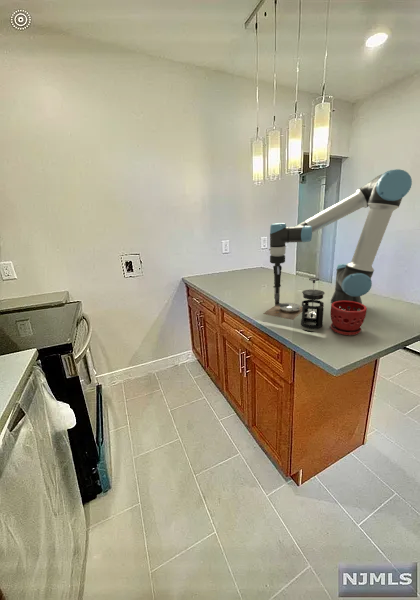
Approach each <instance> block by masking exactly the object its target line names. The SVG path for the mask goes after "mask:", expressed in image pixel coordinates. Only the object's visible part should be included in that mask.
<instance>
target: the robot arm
mask: <svg viewBox="0 0 420 600" xmlns="http://www.w3.org/2000/svg"><path fill="white" fill-rule="evenodd" d="M412 185H413V181H412V177H411V175H410V174H409V172H407V171H406V170H404V169H400V168H397V169H390V170H386V171H385V172H384V173H381V174H380V175H377V176H375V177H374V178H373V179H372V180H370V181H369V182H368V183H366V184H364V185H363V186H362V187H360V188H358V189H357V190H356V191H355V193H353V194H351V195H350V196H347V197H345V198H344V199H342V200H340V201H338V202H337V203H335V204H333V205H331V206H329V207H327V208H326V209H324V210H322V211H320V212H319V213H317V214H315V215H314V216H311V217H309V218H308V219H306V220H305V221H302V222H300V223H299V224H296V225H294V226H287V223H285V222H277V223H276V222H275V223H272V224H271V225H270V227H269V229H270V230H269V248H268V251H269V254H270V256H269V263H270V264H274V265H272V266H273V274H274V275H273V276H274V277H273V278H274V281H273V286H272V287H273V289H274V290H273V291H274V294H273V295H274V300H275V294H280V292H281V287H282V285H281V277H282V276H281V275H282V269H283V267H282V265H281V264H285V262H286V255H285V254H286V249H287V248H286V244H287V243H288V244H289V243H308V242H311V241H312V237H313V233H316V232H318V231H319V230H322V229H324V228H325V227H327V226H329V225H331V224H334V223H335V222H338V221H339V220H340V219H343V218H345V217H346V216H348V215H350V214H352V213H355V212H356V211H359V210H360V209H361V208H364V209H366V208H369V210H368V214H367V215H366V219H365V221H364V225H363V226H362V230H361V233H360V236H359V239H358V242H357V244H356V246H355V247H356V248H355V250H354V253H353V256H352V259H351V261H350V262H348V263H339V264H338V265H337V266H336V272H335V273H336V276H335V285H334V292H333V295H332V296H331V299H330V302H329V303H330V304H332V303H333V302H336V301H354V302H358V303H361V304H363V301H362V296H364V295H366V294H367V293H369V292H370V290H371V288H372V286H373V281H372V277H373V275H374V271H375V269H374V268H373V264H374V261H375V258H376V256H377V253H378V252H379V248H380V246H381V244H382V240H383V237H384V235H385V233H386V230H387V228H388V224H389V223H390V220H391V217H392V215H393V212H394V211H395V210H397V209H398V208H399V207H400V206H401V203H402V200H403V198H404V197H405V196H406V195H407V194H408V193H409V191H410V190H411V188H412ZM279 300H280V298H279ZM339 308H341V306H339ZM347 308H348V309H350V308H351V307H350V306H348V307H347ZM355 309H356V308H354V310H355ZM343 310H345V309H343ZM358 310H359V308H358Z"/></svg>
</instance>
